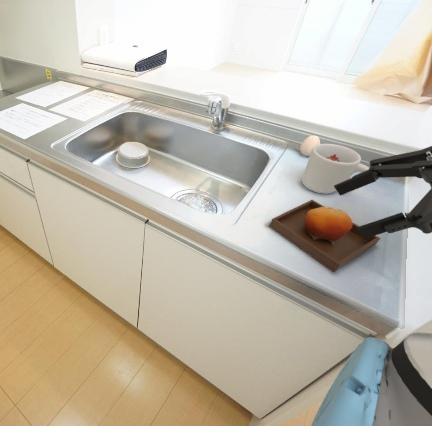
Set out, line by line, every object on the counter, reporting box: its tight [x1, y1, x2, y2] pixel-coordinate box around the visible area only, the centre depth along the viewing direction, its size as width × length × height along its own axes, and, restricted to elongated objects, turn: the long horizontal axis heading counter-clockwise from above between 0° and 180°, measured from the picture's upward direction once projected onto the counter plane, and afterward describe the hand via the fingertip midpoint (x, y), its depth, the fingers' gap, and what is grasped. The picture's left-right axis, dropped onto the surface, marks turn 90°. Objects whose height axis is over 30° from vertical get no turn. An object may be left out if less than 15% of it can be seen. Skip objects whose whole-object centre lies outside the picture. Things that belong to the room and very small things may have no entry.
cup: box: [301, 143, 370, 194], centre depth 72 cm, size 14×10×10 cm
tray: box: [268, 199, 382, 273], centre depth 62 cm, size 15×14×2 cm
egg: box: [299, 134, 321, 157], centre depth 87 cm, size 5×5×7 cm
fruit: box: [305, 206, 354, 245], centre depth 60 cm, size 8×8×8 cm
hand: (347, 210), depth 57 cm, fingers open, 13 cm apart
